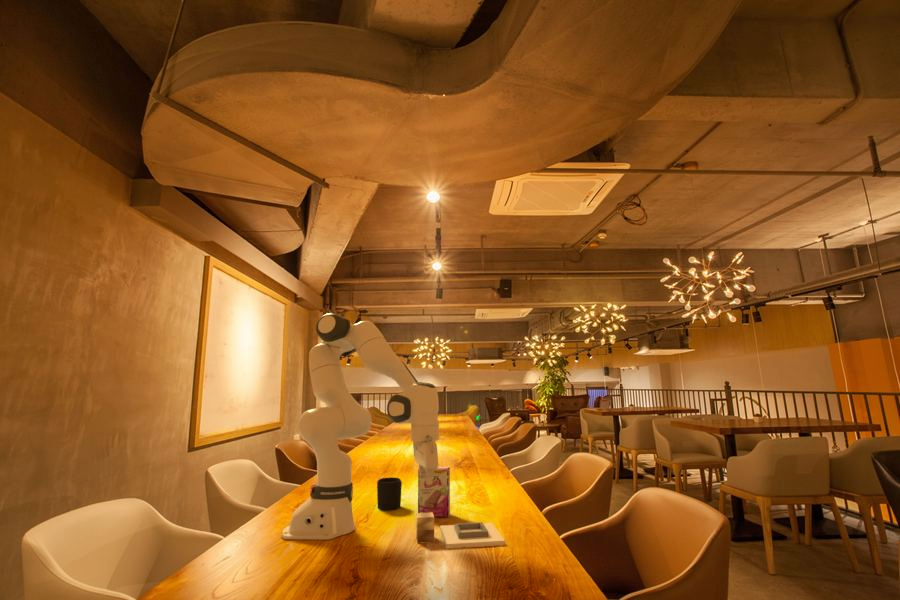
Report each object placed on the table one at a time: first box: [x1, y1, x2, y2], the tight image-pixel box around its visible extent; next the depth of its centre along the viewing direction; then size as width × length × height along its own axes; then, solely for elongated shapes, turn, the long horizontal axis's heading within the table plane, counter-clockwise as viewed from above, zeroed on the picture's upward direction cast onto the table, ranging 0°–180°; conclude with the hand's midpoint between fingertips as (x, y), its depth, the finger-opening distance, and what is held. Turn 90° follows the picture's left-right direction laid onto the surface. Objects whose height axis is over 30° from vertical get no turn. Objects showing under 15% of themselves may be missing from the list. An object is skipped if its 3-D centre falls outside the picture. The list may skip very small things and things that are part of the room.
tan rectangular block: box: [416, 512, 435, 544], centre depth 133 cm, size 5×5×7 cm
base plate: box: [439, 521, 506, 549], centre depth 135 cm, size 17×17×3 cm
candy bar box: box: [417, 466, 451, 519], centre depth 158 cm, size 11×5×16 cm, turn 84°
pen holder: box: [376, 477, 403, 511], centre depth 169 cm, size 9×9×10 cm
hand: (426, 481), depth 136 cm, fingers open, 8 cm apart
